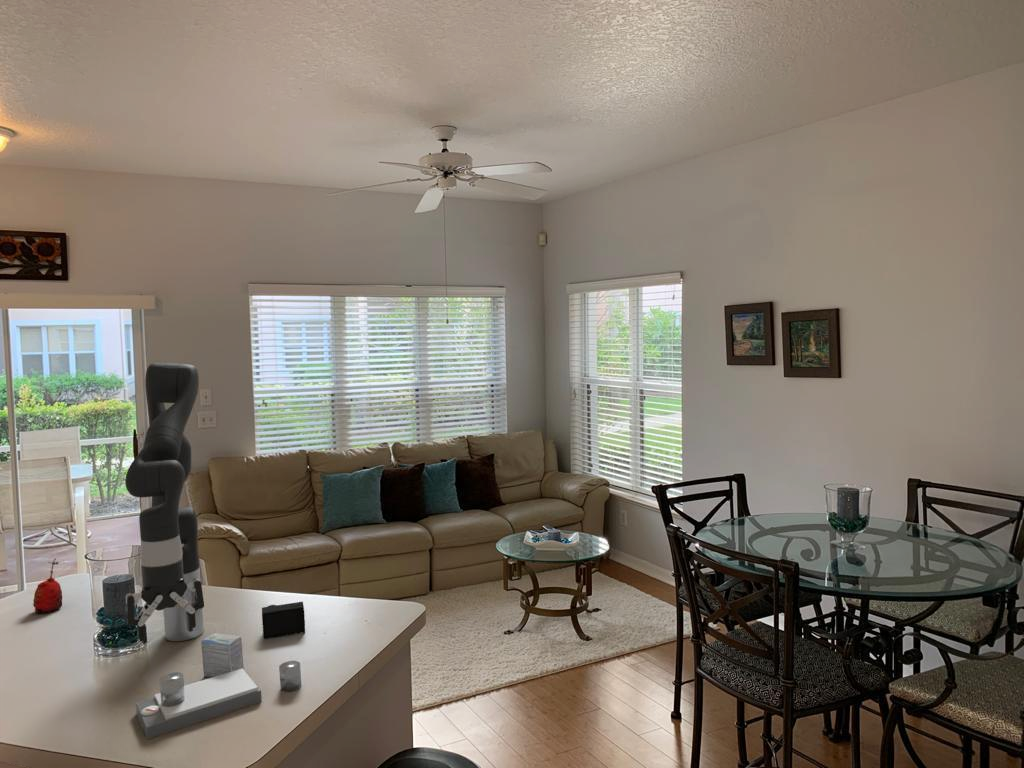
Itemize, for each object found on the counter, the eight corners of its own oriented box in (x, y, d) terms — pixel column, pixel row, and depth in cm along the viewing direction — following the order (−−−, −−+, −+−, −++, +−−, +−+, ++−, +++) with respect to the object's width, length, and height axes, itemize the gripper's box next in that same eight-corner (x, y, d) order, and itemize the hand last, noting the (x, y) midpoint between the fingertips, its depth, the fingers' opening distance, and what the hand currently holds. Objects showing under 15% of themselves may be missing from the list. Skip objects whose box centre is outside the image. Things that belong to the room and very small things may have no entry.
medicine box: (244, 672, 167) (242, 635, 166) (231, 681, 163) (228, 644, 162) (217, 668, 169) (214, 632, 169) (203, 677, 165) (200, 640, 165)
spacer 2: (277, 686, 160) (276, 664, 159) (297, 680, 162) (296, 658, 162) (284, 694, 156) (283, 672, 156) (304, 687, 159) (303, 665, 158)
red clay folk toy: (43, 605, 213) (39, 555, 212) (68, 603, 214) (64, 554, 212) (29, 616, 205) (24, 564, 204) (55, 614, 206) (51, 562, 205)
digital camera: (304, 624, 193) (303, 599, 192) (305, 632, 188) (304, 606, 187) (263, 631, 189) (261, 605, 189) (263, 639, 184) (261, 613, 184)
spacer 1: (159, 700, 149) (157, 677, 149) (182, 693, 152) (180, 670, 151) (163, 709, 145) (161, 684, 145) (187, 701, 148) (185, 678, 148)
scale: (136, 713, 150) (135, 699, 150) (245, 680, 163) (244, 666, 163) (147, 739, 140) (146, 723, 140) (261, 701, 153) (260, 687, 153)
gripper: (195, 547, 153) (200, 621, 155) (119, 561, 145) (125, 639, 146) (203, 555, 147) (209, 632, 149) (125, 571, 139) (131, 653, 140)
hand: (167, 636), depth 147 cm, fingers open, 8 cm apart
